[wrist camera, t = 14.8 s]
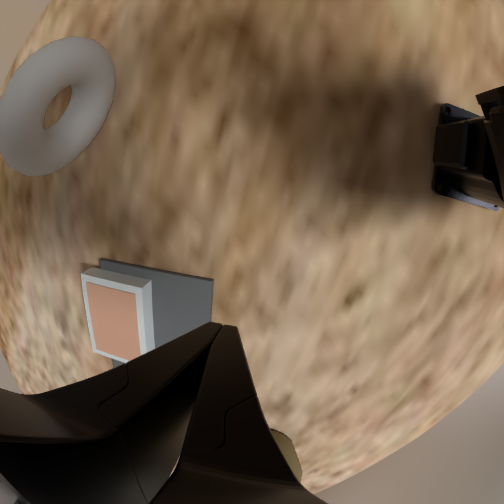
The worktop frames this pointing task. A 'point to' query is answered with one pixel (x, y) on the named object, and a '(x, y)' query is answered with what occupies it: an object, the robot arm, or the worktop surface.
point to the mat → (171, 300)
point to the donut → (42, 93)
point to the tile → (118, 313)
